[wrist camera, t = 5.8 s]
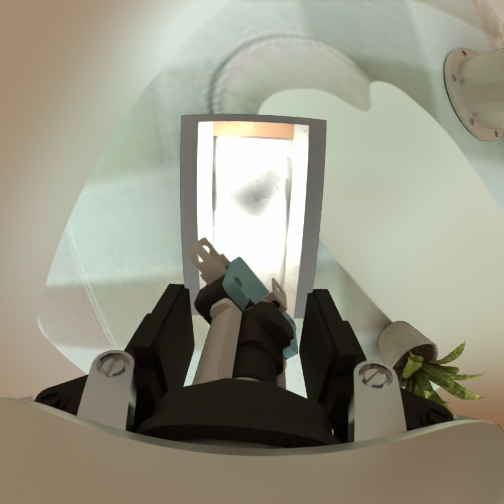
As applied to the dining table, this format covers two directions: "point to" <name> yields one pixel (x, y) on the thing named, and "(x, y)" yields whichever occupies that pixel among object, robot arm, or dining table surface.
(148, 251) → the dining table surface
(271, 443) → the round cylindrical fitting
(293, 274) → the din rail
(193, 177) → the panel
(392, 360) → the house plant
